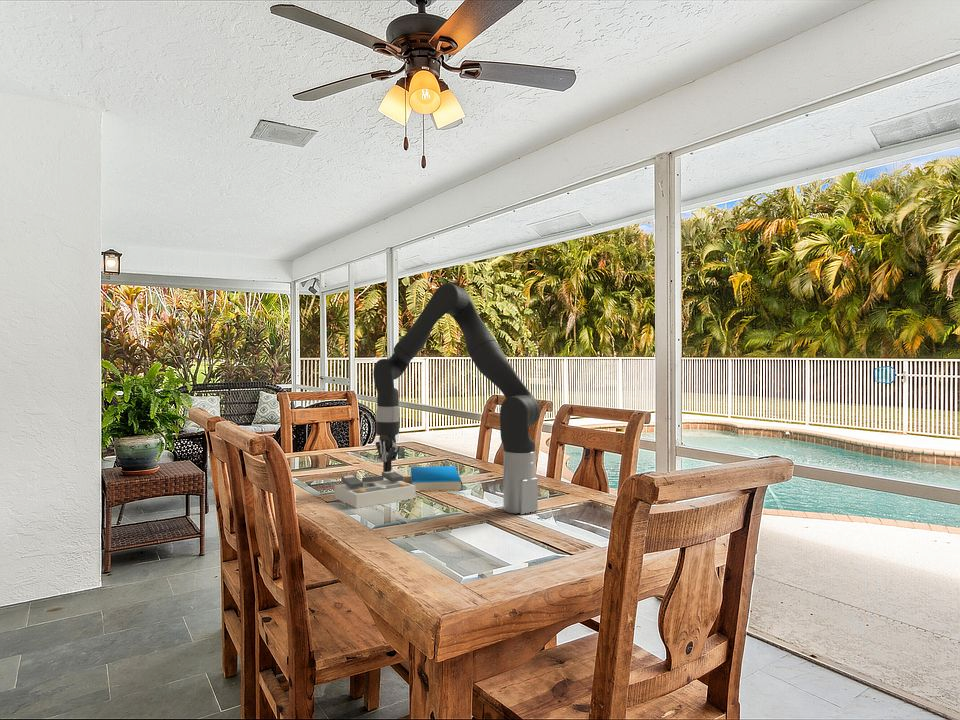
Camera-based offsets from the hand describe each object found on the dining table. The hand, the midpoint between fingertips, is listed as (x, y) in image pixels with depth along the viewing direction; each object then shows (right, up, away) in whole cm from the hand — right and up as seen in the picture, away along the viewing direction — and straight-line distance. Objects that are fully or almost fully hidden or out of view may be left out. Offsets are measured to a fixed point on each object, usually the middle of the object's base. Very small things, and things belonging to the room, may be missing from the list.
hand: (387, 472), depth 195 cm
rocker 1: (-9, -1, -11) cm, 14 cm away
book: (+15, -7, +15) cm, 22 cm away
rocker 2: (-3, -1, -7) cm, 8 cm away
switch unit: (-3, -7, -8) cm, 11 cm away
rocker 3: (+2, -1, -3) cm, 4 cm away
